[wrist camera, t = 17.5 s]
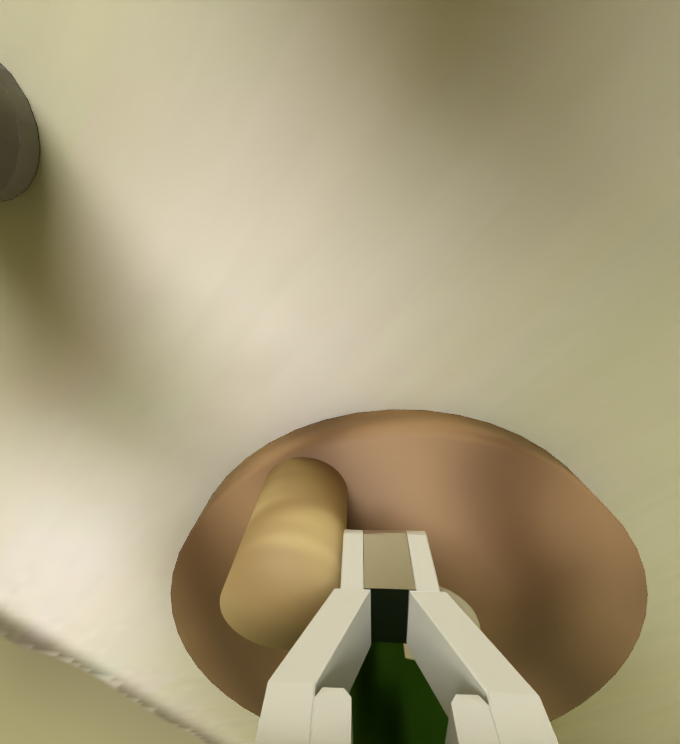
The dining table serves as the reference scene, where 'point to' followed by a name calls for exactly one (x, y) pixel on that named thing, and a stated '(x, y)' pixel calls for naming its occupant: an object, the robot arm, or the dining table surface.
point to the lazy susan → (446, 540)
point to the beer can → (395, 700)
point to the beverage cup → (16, 139)
